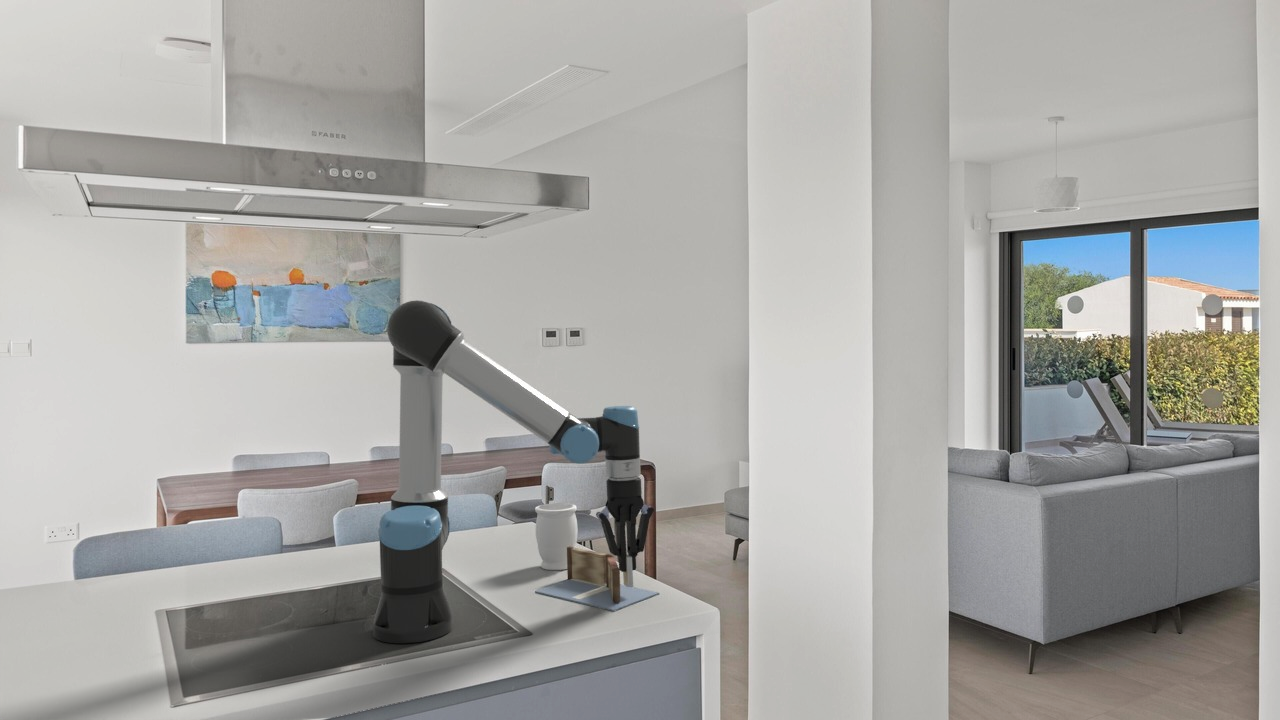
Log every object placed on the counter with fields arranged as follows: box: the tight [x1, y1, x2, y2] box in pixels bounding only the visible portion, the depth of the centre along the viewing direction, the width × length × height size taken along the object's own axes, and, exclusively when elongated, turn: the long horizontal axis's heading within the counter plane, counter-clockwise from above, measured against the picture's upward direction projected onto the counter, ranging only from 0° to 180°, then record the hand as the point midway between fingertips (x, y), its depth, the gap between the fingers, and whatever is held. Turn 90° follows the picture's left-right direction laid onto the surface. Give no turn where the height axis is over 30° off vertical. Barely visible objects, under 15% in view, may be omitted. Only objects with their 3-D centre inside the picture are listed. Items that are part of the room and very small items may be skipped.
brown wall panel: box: [566, 547, 616, 588], centre depth 201 cm, size 14×2×8 cm, turn 50°
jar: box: [534, 502, 579, 571], centre depth 217 cm, size 11×10×15 cm
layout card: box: [535, 578, 660, 612], centre depth 193 cm, size 24×15×1 cm, turn 50°
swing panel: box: [607, 556, 621, 603], centre depth 190 cm, size 12×2×7 cm, turn 8°
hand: (628, 585), depth 189 cm, fingers closed
